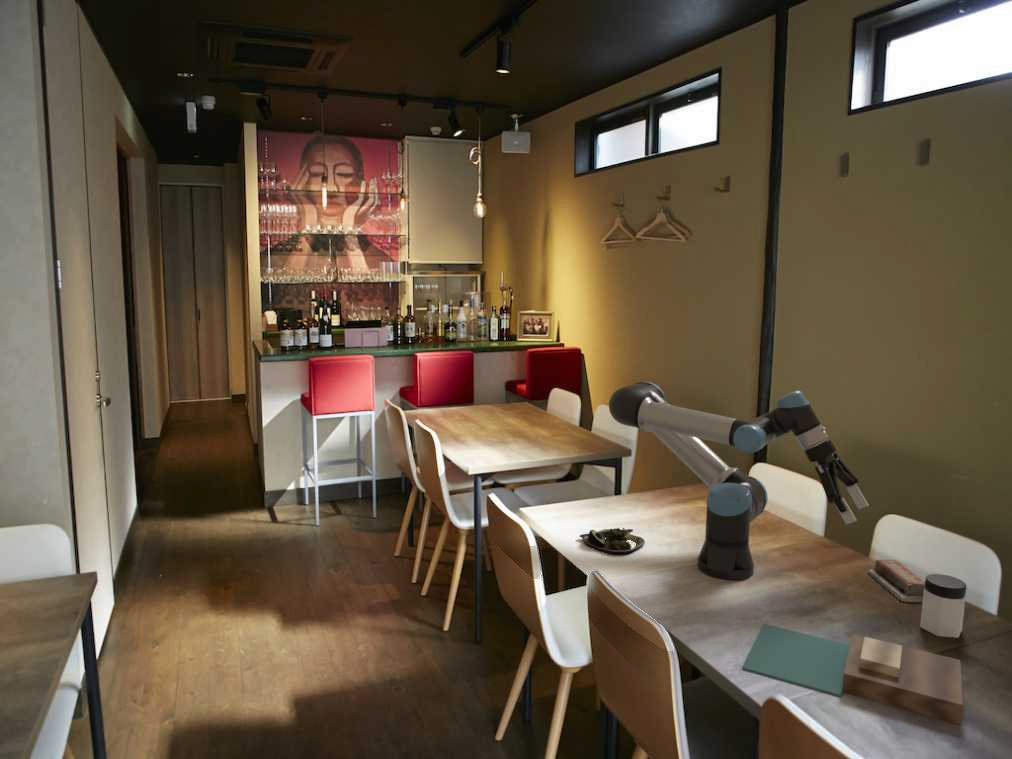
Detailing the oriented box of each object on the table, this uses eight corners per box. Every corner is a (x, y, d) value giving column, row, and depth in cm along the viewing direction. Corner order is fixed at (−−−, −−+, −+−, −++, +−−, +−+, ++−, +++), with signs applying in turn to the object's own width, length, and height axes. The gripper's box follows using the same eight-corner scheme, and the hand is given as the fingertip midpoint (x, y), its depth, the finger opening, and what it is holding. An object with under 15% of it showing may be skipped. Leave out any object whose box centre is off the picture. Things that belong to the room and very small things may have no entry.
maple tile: (859, 667, 143) (860, 658, 143) (863, 645, 152) (864, 636, 151) (898, 677, 140) (899, 668, 139) (901, 654, 148) (902, 645, 148)
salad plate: (611, 528, 232) (612, 514, 232) (657, 543, 220) (658, 529, 219) (572, 543, 219) (573, 529, 219) (619, 560, 206) (619, 545, 206)
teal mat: (742, 668, 150) (742, 667, 150) (763, 625, 168) (763, 623, 168) (840, 696, 140) (841, 694, 140) (852, 647, 159) (852, 645, 158)
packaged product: (867, 557, 198) (903, 557, 198) (866, 573, 198) (902, 574, 198) (902, 585, 180) (942, 586, 180) (901, 603, 181) (940, 604, 181)
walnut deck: (842, 691, 142) (843, 673, 141) (851, 651, 157) (852, 634, 156) (960, 724, 131) (962, 705, 131) (958, 678, 147) (960, 660, 146)
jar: (924, 616, 173) (929, 570, 171) (963, 627, 168) (969, 579, 166) (917, 630, 166) (921, 582, 164) (957, 642, 161) (963, 592, 159)
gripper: (815, 449, 183) (860, 524, 179) (840, 429, 202) (881, 496, 198) (790, 460, 187) (832, 534, 184) (816, 439, 207) (855, 506, 203)
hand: (857, 514), depth 191 cm, fingers open, 13 cm apart
